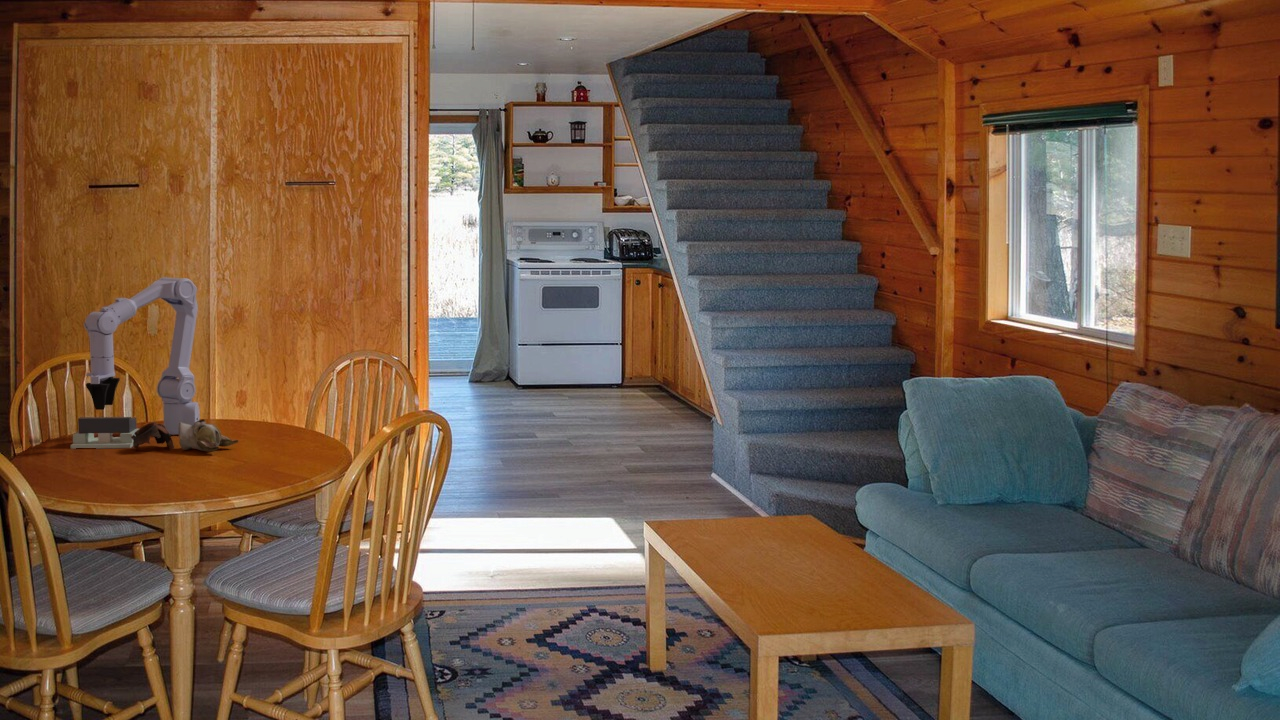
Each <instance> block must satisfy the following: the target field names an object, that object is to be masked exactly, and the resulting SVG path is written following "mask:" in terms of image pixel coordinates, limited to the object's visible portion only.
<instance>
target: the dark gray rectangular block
mask: <svg viewBox="0 0 1280 720" xmlns="http://www.w3.org/2000/svg"><path fill="white" fill-rule="evenodd" d="M77 425H78V429H77V430H78V431H79V433H94V434H98V433H112V434H121V433H130V432H132V431H133V430H135V429H138V426H137V417H132V416H98V417H97V416H95V417H94V416H93V417H92V416H90V417H88V416H87V417H85V416H84V417H83V416H82V417H80V416H79V418H77Z"/></svg>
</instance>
